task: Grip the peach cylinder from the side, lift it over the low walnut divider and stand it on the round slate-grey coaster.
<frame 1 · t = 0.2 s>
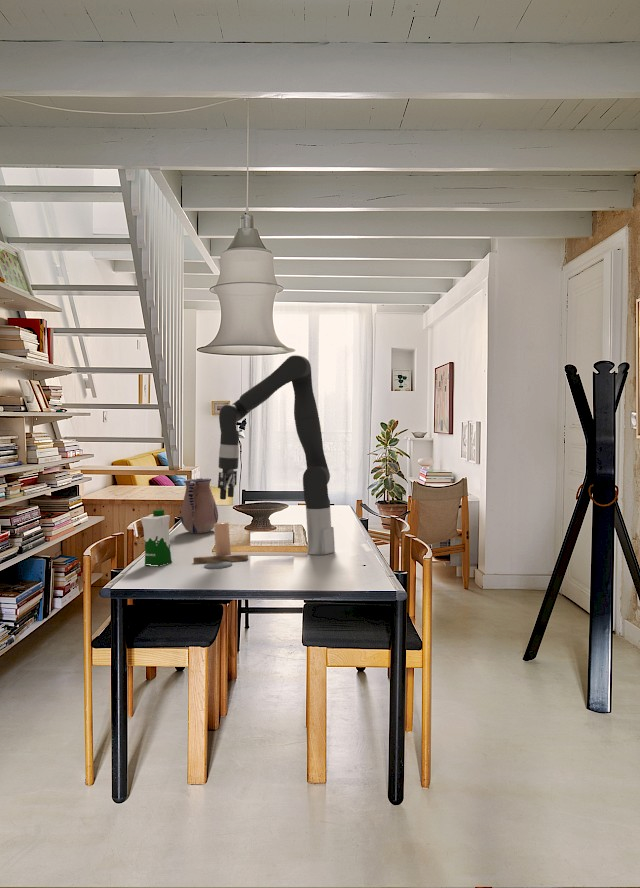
hand: (226, 498, 279), 22 cm above the table, tool pointing down, fingers open, 8 cm apart
peach cylinder: (223, 557, 275), on the table
ceramic pitcher: (199, 533, 337), on the table
coaster: (218, 565, 260), on the table
divider: (221, 561, 267), on the table
milk carton: (158, 564, 269), on the table
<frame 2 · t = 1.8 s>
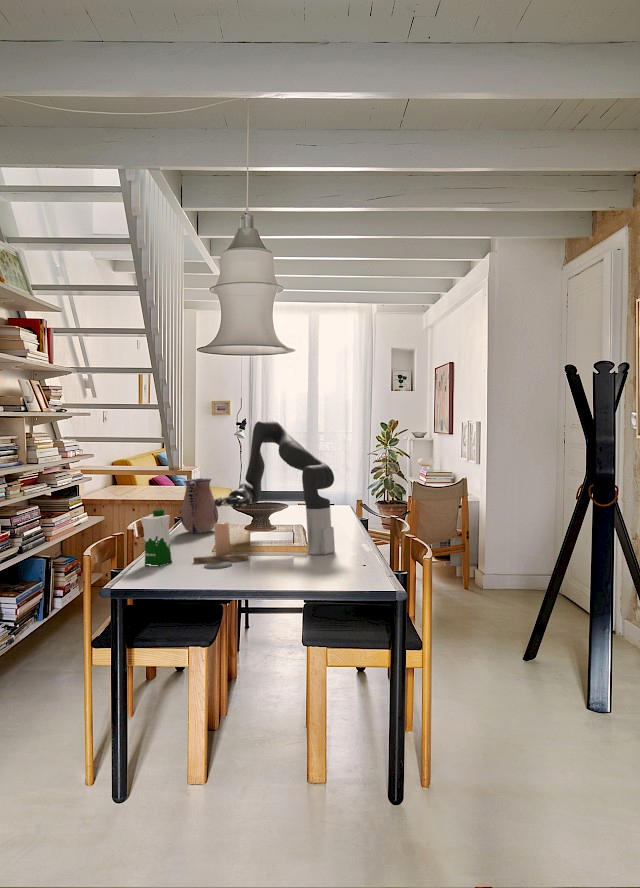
hand: (228, 503, 285), 19 cm above the table, tool horizontal, fingers open, 8 cm apart
nothing on the table moved.
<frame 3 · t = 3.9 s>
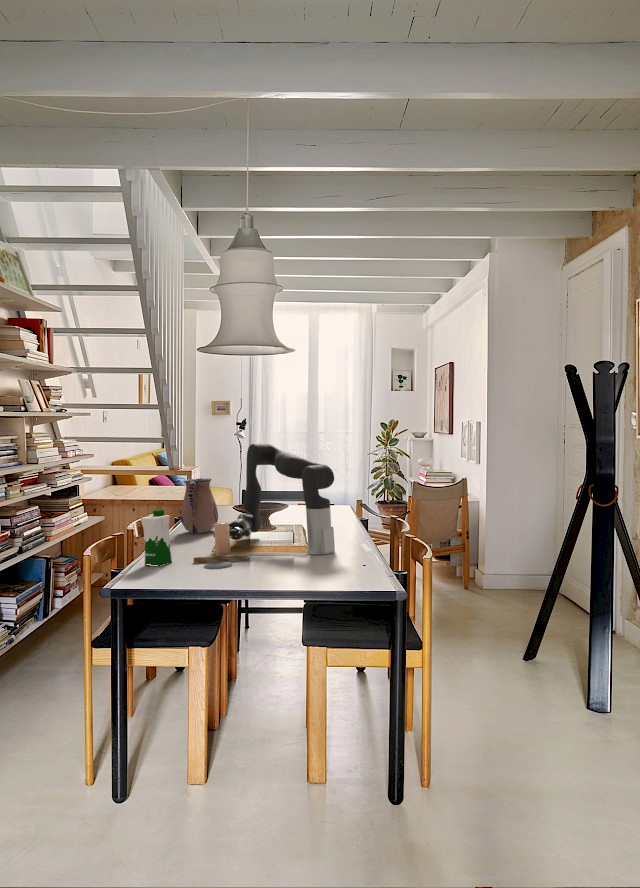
hand: (227, 535, 281), 7 cm above the table, tool horizontal, fingers open, 8 cm apart
nothing on the table moved.
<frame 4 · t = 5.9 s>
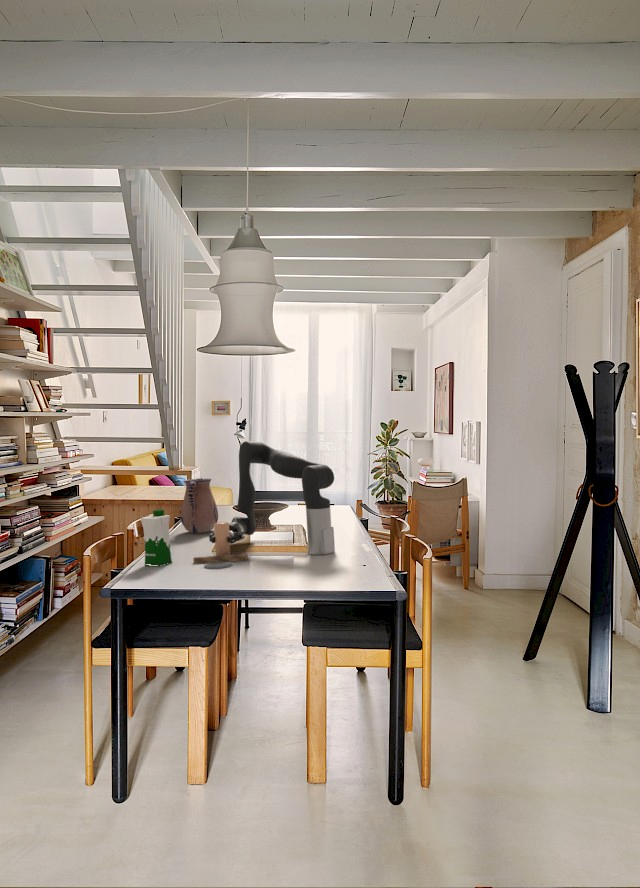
hand: (220, 540, 272), 7 cm above the table, tool horizontal, fingers closed on peach cylinder, 5 cm apart
peach cylinder: (223, 557, 275), on the table, touching gripper
everything else where it was.
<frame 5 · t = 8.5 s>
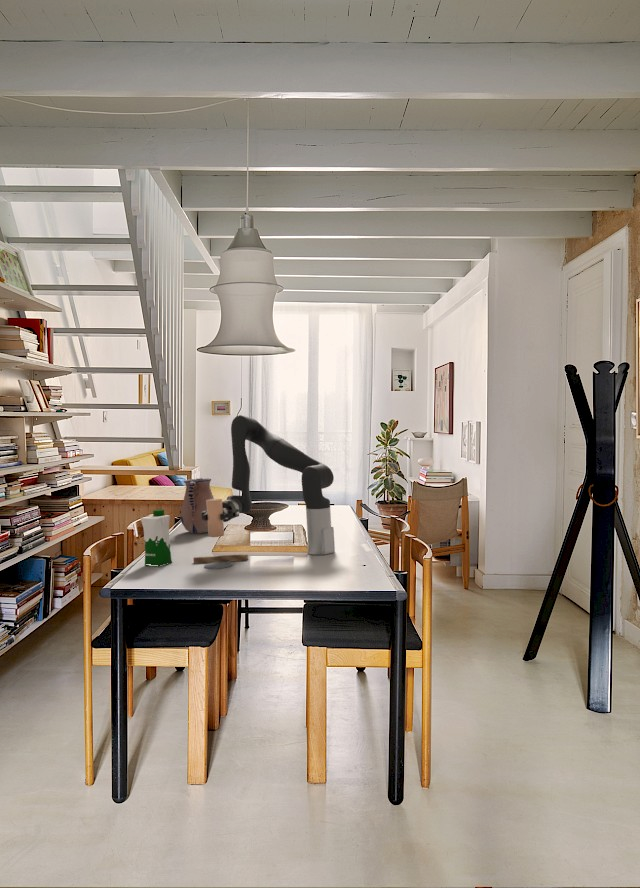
hand: (213, 517, 257), 18 cm above the table, tool horizontal, fingers closed on peach cylinder, 5 cm apart
peach cylinder: (216, 535, 260), point 11 cm above the table, touching gripper
everything else where it was.
when the fingers open (8 cm above the table, at t = 10.9 s): peach cylinder stays where it is, resting on coaster.
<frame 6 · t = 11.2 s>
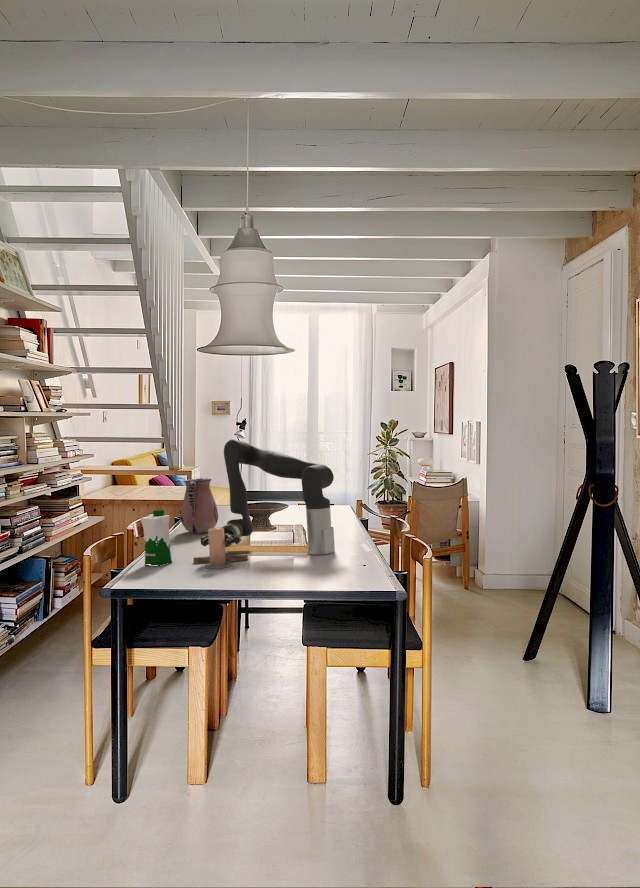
hand: (215, 543, 257), 9 cm above the table, tool horizontal, fingers open, 8 cm apart
peach cylinder: (218, 564, 260), resting on coaster
everything else where it was.
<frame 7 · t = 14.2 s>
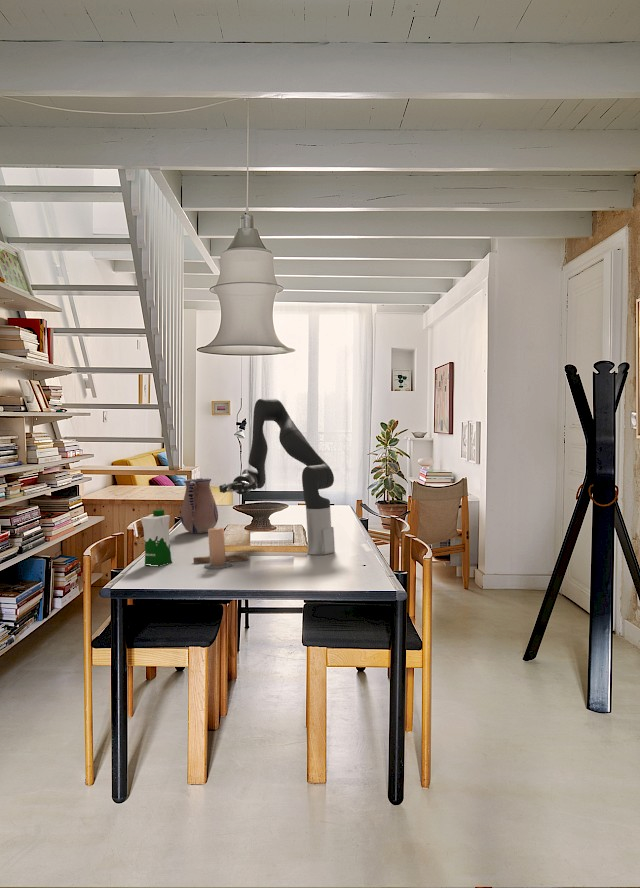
hand: (234, 489, 275), 26 cm above the table, tool horizontal, fingers open, 8 cm apart
nothing on the table moved.
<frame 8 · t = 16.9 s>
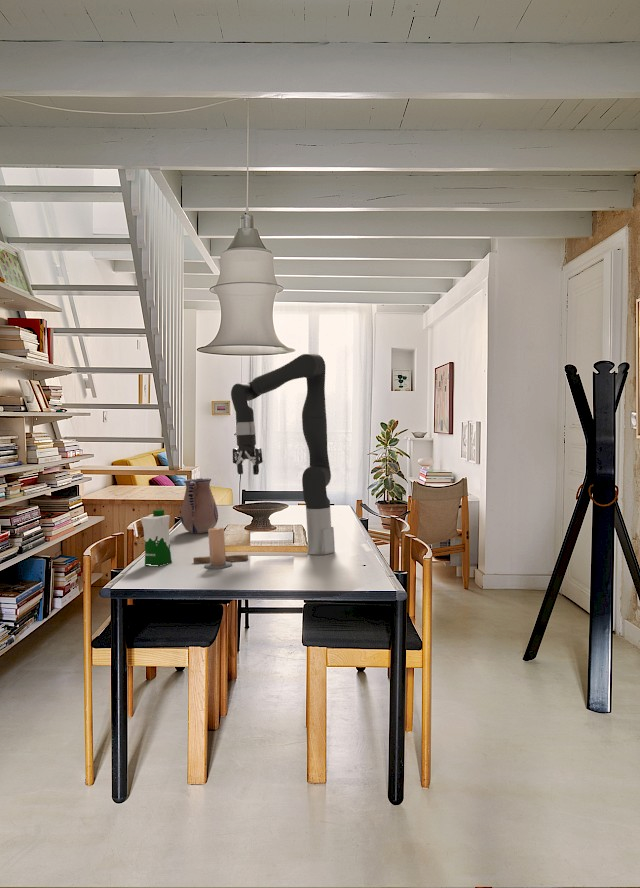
hand: (248, 474, 286), 30 cm above the table, tool pointing down, fingers open, 8 cm apart
nothing on the table moved.
at the end: peach cylinder 0.1 cm from the coaster (horizontally); peach cylinder tilted 0°; the gripper is holding nothing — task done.
